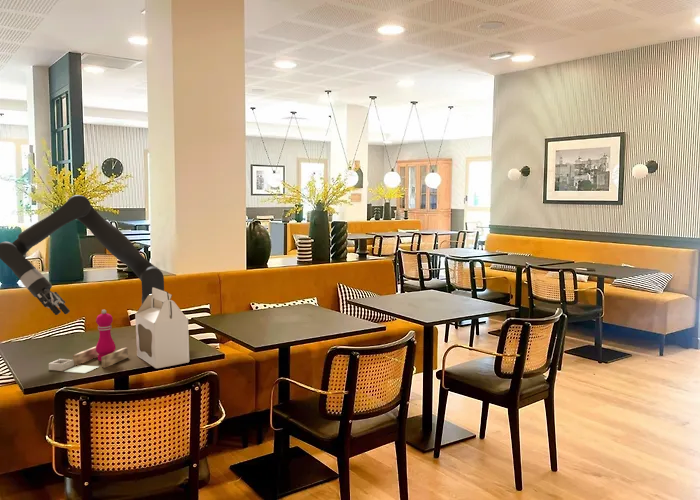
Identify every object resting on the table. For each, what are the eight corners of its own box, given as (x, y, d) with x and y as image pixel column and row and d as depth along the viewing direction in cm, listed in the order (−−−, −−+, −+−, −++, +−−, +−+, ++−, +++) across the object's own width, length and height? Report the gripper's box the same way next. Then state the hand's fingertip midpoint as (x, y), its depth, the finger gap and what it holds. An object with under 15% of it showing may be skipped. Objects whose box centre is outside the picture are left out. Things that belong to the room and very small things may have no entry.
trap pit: (60, 365, 221) (60, 358, 221) (73, 366, 219) (73, 359, 219) (48, 369, 215) (48, 363, 215) (62, 370, 214) (62, 364, 213)
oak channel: (97, 355, 234) (97, 345, 234) (127, 357, 231) (127, 347, 230) (73, 365, 221) (73, 355, 220) (105, 367, 217) (104, 357, 217)
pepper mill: (100, 356, 232) (97, 307, 230) (118, 356, 232) (116, 307, 230) (93, 362, 225) (91, 311, 223) (112, 361, 225) (110, 311, 223)
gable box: (189, 362, 224) (187, 291, 221) (156, 369, 215) (153, 295, 213) (168, 350, 241) (166, 284, 238) (136, 356, 233) (133, 287, 230)
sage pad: (79, 365, 220) (79, 364, 220) (99, 367, 218) (99, 366, 218) (64, 372, 212) (64, 371, 212) (85, 373, 210) (85, 372, 210)
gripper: (34, 275, 221) (63, 307, 221) (51, 276, 235) (78, 306, 235) (19, 289, 220) (47, 320, 220) (36, 289, 234) (63, 318, 234)
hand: (63, 313), depth 227 cm, fingers open, 8 cm apart
